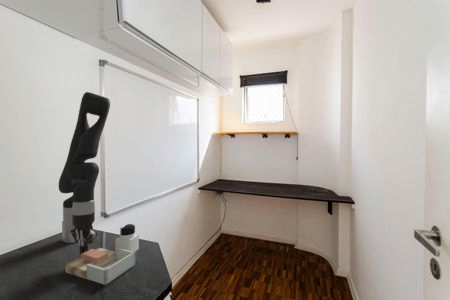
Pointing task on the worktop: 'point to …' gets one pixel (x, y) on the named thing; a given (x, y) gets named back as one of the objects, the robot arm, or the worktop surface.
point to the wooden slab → (79, 265)
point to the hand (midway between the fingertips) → (83, 253)
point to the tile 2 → (98, 257)
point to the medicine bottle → (128, 238)
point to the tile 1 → (88, 254)
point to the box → (111, 267)
